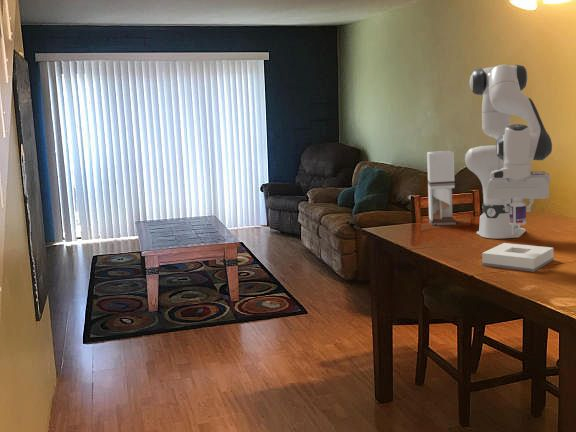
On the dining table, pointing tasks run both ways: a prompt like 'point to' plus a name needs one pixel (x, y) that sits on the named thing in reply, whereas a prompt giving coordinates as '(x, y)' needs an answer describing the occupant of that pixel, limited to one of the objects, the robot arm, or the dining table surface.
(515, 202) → the pill bottle
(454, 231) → the dining table surface
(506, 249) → the socket holder
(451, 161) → the white dispenser
